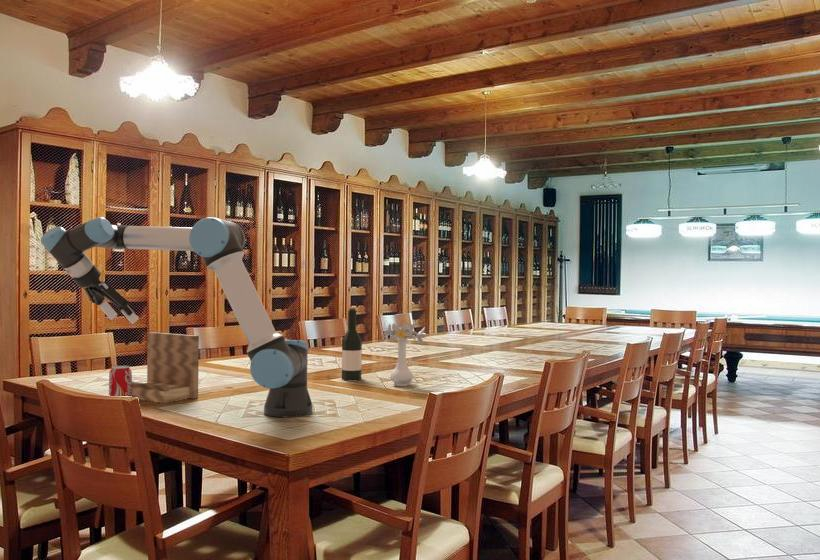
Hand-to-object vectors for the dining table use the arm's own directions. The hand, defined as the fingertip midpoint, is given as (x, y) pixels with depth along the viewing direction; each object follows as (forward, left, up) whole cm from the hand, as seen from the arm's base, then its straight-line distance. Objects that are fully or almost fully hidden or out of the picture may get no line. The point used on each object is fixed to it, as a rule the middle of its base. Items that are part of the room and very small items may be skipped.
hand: (124, 319), depth 212 cm
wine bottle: (+5, -91, -29) cm, 95 cm away
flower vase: (-18, -101, -29) cm, 106 cm away
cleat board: (+6, -13, -28) cm, 32 cm away
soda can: (+5, 0, -29) cm, 29 cm away
